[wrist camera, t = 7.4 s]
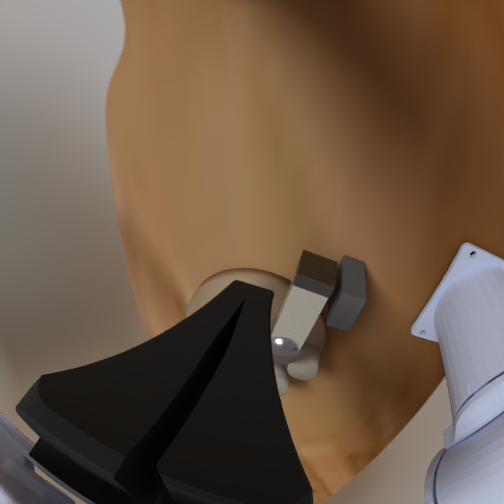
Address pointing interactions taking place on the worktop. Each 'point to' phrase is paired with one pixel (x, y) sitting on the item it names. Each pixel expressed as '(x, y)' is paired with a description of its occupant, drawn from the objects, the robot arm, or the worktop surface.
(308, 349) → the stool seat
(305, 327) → the hinged leg
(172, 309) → the worktop surface
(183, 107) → the worktop surface
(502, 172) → the worktop surface
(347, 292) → the block
